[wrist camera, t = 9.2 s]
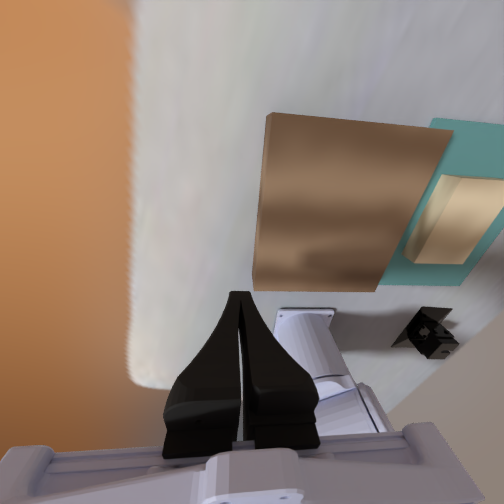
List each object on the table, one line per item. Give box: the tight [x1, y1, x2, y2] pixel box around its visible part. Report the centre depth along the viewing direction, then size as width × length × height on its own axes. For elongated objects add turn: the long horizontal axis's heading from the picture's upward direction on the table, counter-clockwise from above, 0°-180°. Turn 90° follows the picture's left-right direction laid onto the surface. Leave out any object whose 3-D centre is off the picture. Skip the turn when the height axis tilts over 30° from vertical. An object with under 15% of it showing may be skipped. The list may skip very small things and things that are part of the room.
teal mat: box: [378, 118, 504, 286], centre depth 22 cm, size 18×14×1 cm
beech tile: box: [402, 174, 504, 264], centre depth 21 cm, size 9×6×2 cm, turn 176°
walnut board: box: [252, 112, 454, 292], centre depth 20 cm, size 16×14×3 cm
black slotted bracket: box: [391, 307, 459, 359], centre depth 31 cm, size 12×7×5 cm, turn 172°
